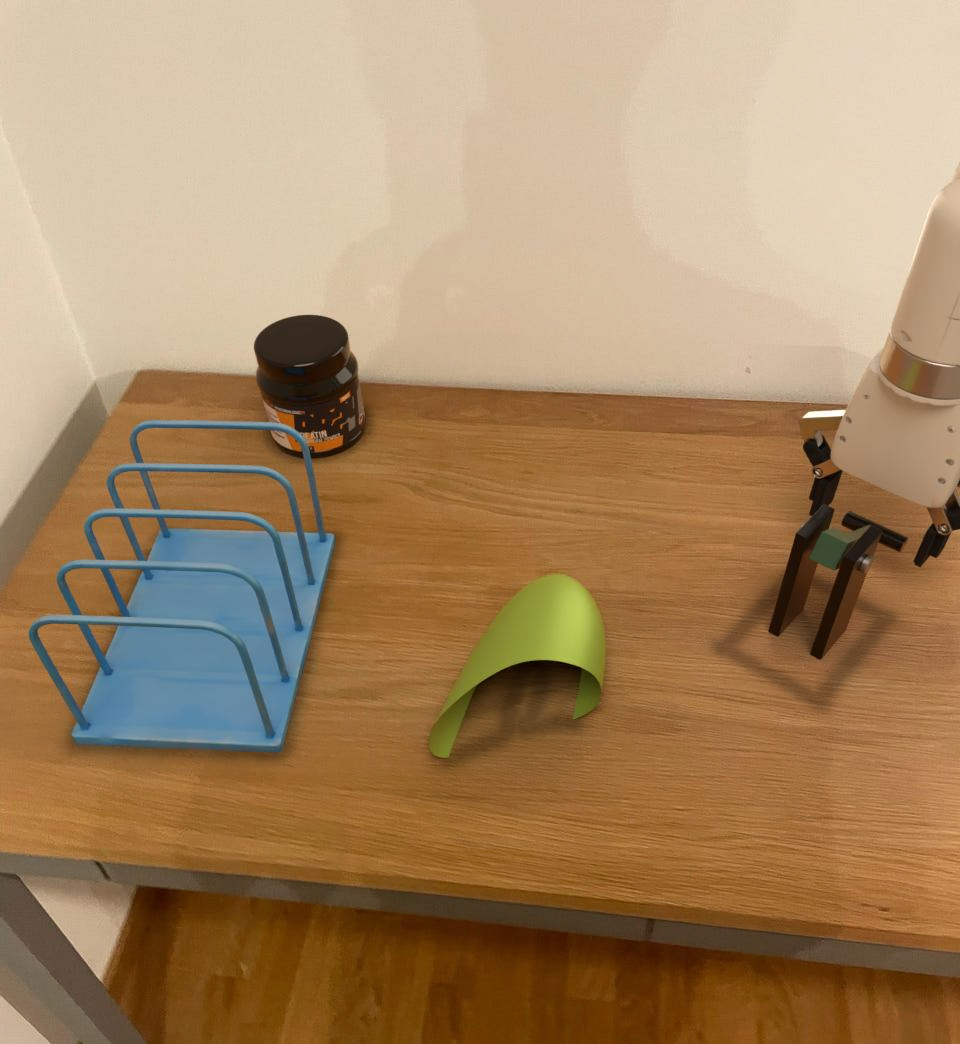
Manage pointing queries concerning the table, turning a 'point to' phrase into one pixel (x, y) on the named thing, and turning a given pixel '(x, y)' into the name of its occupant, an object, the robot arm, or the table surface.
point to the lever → (850, 540)
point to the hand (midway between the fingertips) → (870, 532)
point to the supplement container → (310, 384)
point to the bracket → (843, 589)
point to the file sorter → (200, 621)
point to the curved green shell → (532, 648)
